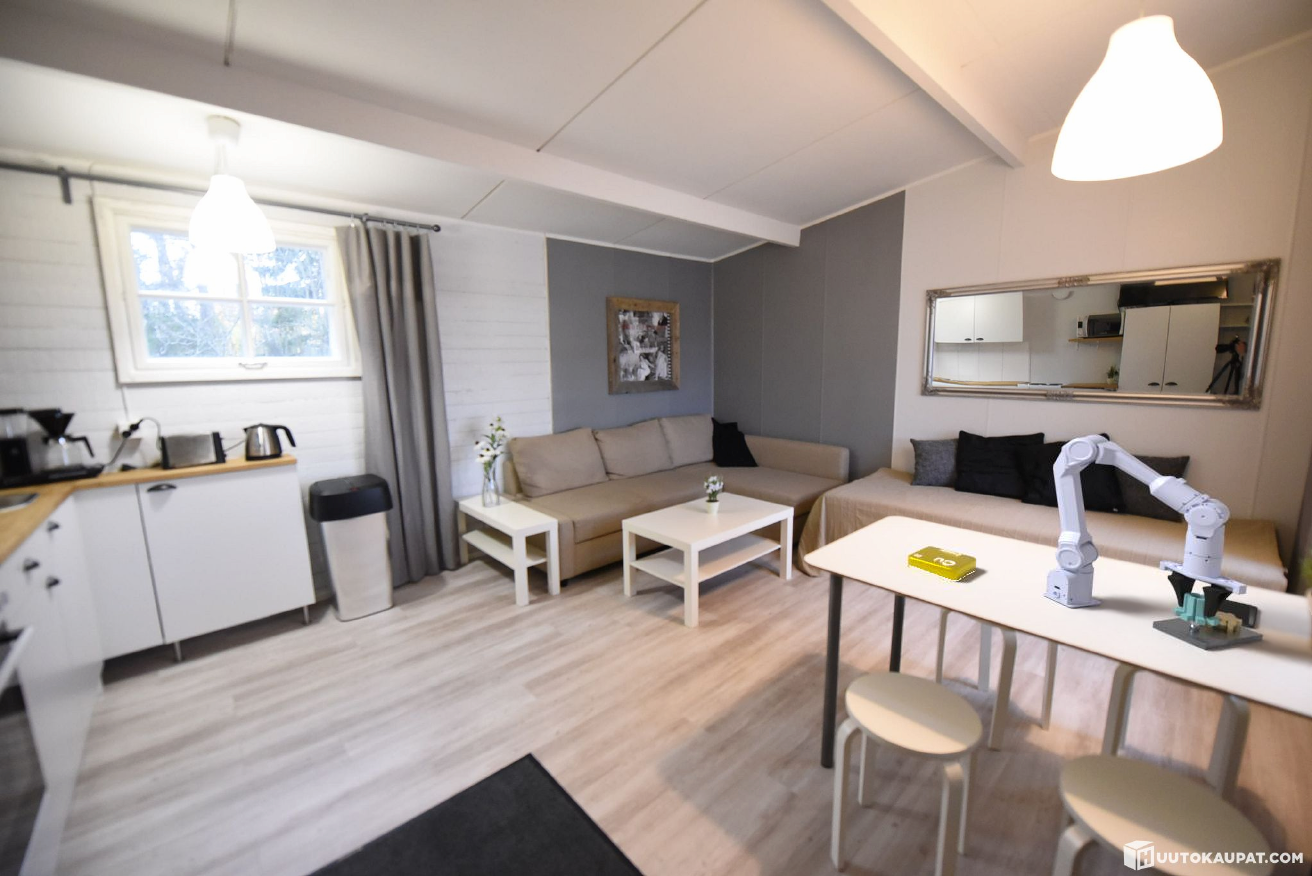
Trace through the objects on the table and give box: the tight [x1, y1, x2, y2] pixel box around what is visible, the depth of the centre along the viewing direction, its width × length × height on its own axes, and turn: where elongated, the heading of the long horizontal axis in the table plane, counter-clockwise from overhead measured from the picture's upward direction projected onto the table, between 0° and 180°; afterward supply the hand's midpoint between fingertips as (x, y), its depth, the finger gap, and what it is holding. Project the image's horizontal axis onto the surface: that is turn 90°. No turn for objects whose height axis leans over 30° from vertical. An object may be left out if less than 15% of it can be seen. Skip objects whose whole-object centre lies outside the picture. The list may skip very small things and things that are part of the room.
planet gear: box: [1173, 592, 1220, 626], centre depth 114 cm, size 7×7×5 cm
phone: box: [1218, 599, 1259, 630], centre depth 124 cm, size 8×1×15 cm
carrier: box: [1152, 611, 1264, 651], centre depth 115 cm, size 16×10×5 cm, turn 100°
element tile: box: [907, 545, 977, 580], centre depth 156 cm, size 15×15×5 cm
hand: (1196, 611), depth 114 cm, fingers closed on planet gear, 4 cm apart
